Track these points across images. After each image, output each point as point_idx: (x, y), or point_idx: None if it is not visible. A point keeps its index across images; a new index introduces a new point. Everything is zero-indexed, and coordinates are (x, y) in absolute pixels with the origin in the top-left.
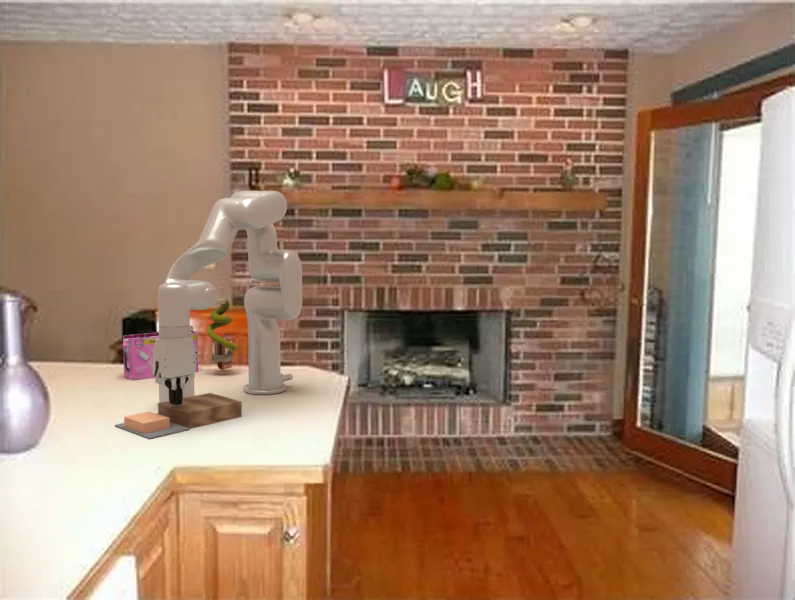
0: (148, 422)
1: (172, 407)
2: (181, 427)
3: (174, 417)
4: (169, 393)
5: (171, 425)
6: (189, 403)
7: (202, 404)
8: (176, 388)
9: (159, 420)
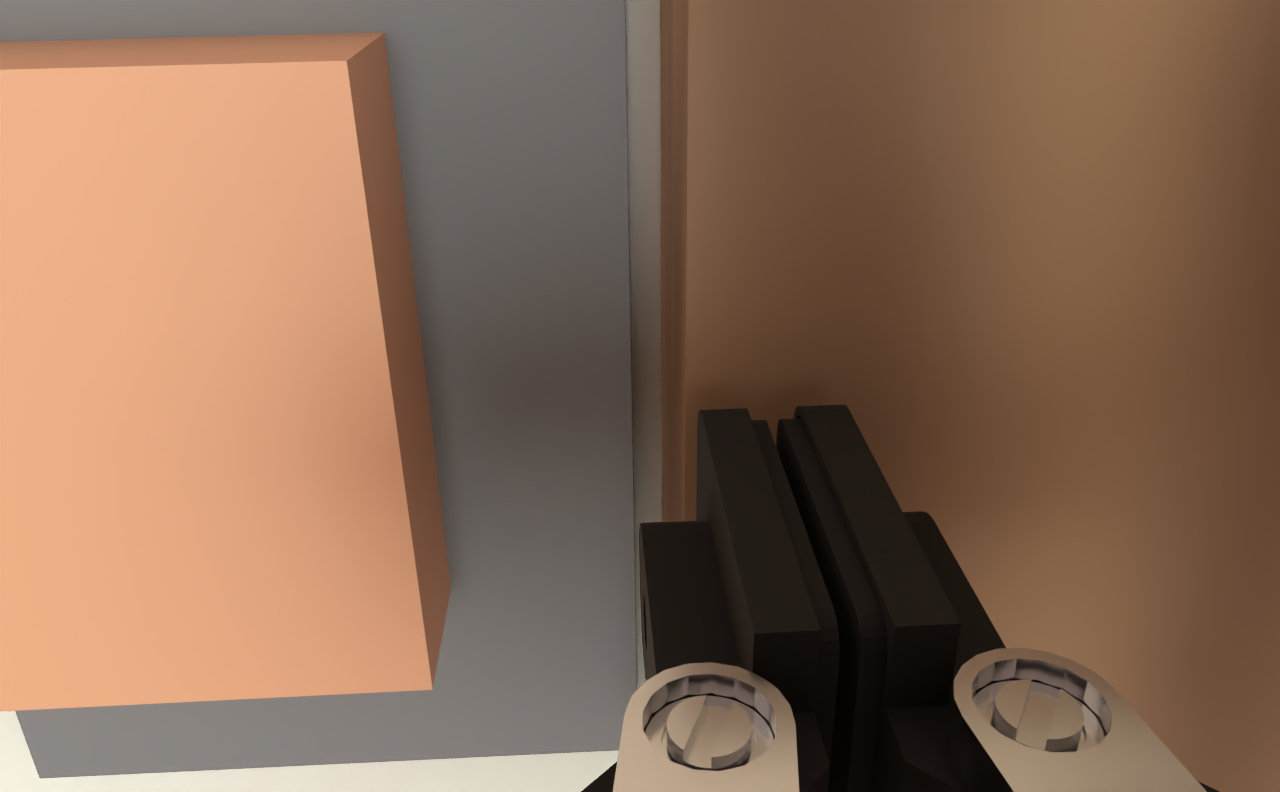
0: (37, 707)
1: (696, 444)
2: (578, 668)
3: (669, 427)
4: (653, 652)
5: (529, 510)
6: (1128, 399)
7: (1202, 611)
8: (876, 771)
9: (244, 694)
